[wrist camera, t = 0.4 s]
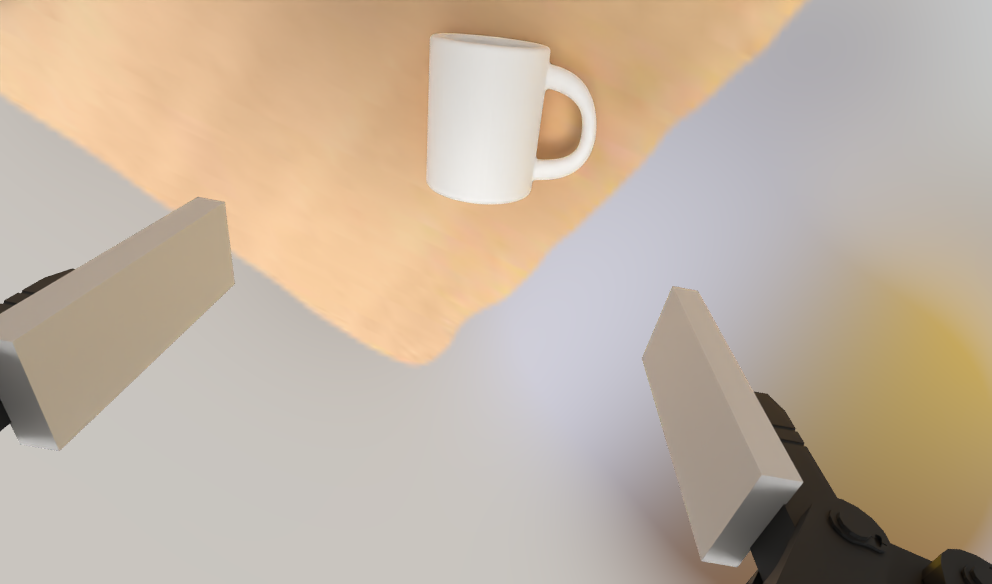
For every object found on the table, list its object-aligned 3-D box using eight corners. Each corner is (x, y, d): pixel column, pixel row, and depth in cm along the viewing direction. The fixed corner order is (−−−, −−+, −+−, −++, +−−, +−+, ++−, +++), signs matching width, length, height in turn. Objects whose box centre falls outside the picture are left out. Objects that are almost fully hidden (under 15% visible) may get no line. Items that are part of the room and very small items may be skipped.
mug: (436, 164, 41) (416, 197, 34) (441, 30, 36) (418, 37, 29) (579, 181, 41) (588, 218, 34) (604, 49, 36) (620, 60, 29)
